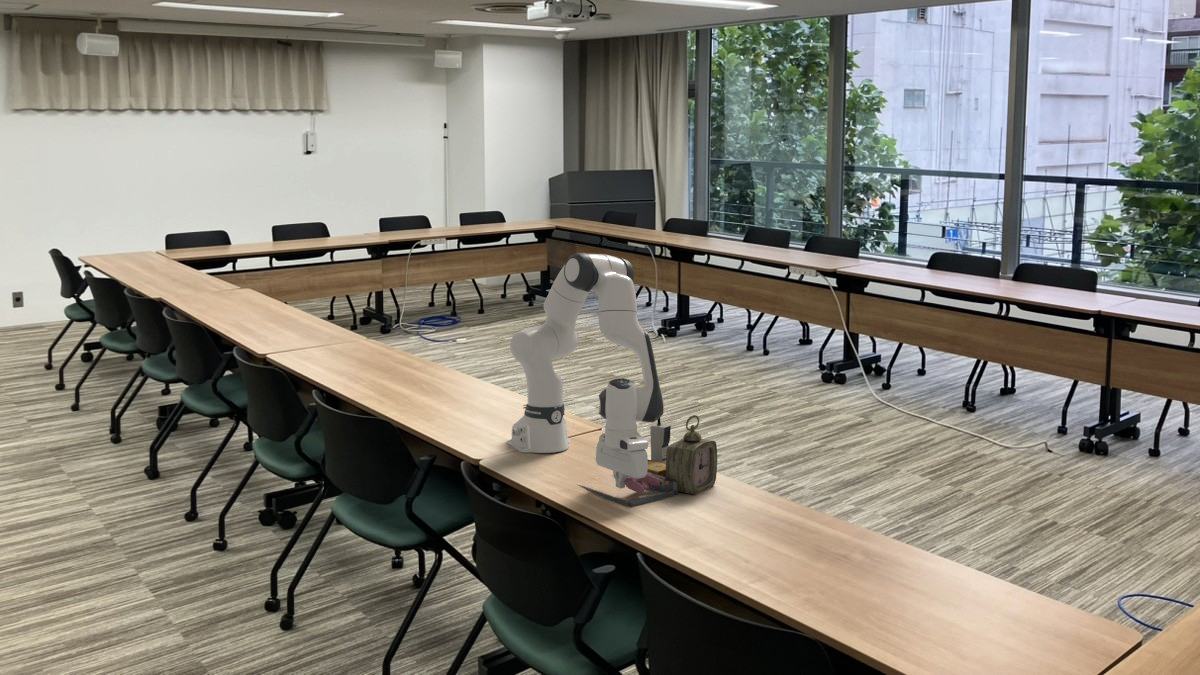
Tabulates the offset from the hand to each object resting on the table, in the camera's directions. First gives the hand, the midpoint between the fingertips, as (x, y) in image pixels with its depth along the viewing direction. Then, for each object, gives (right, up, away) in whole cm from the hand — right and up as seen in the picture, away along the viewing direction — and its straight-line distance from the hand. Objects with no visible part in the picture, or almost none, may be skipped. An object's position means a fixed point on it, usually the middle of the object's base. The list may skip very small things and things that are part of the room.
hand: (620, 487), depth 283 cm
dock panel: (+1, -2, +5) cm, 5 cm away
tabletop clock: (+20, -5, +8) cm, 22 cm away
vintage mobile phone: (+13, -2, +27) cm, 30 cm away
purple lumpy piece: (+8, -1, 0) cm, 8 cm away
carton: (+13, -3, +12) cm, 18 cm away
